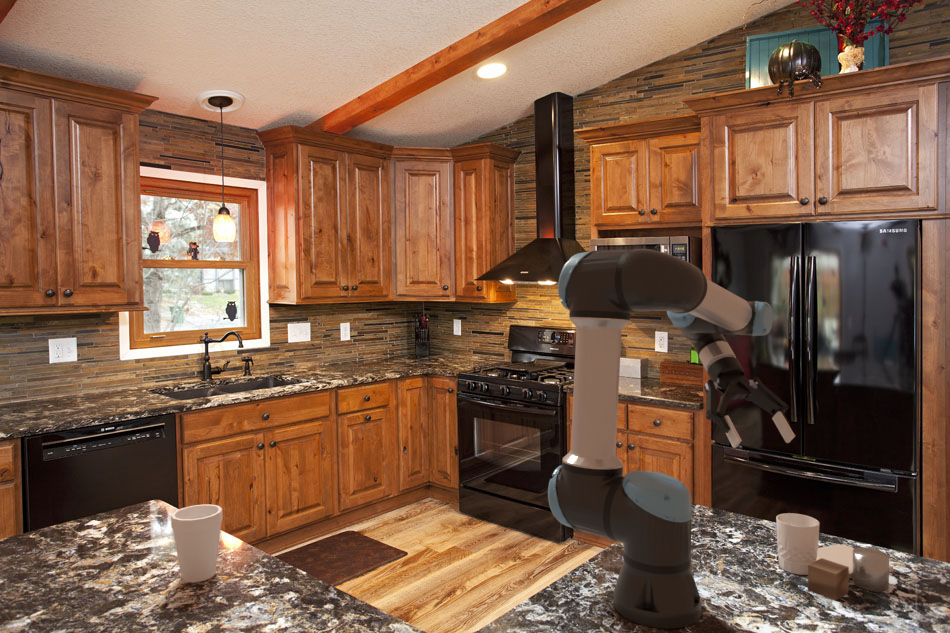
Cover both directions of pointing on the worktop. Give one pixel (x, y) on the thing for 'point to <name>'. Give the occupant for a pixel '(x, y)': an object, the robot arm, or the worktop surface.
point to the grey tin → (870, 569)
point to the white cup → (797, 542)
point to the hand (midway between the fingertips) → (764, 442)
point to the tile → (840, 556)
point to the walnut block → (828, 579)
